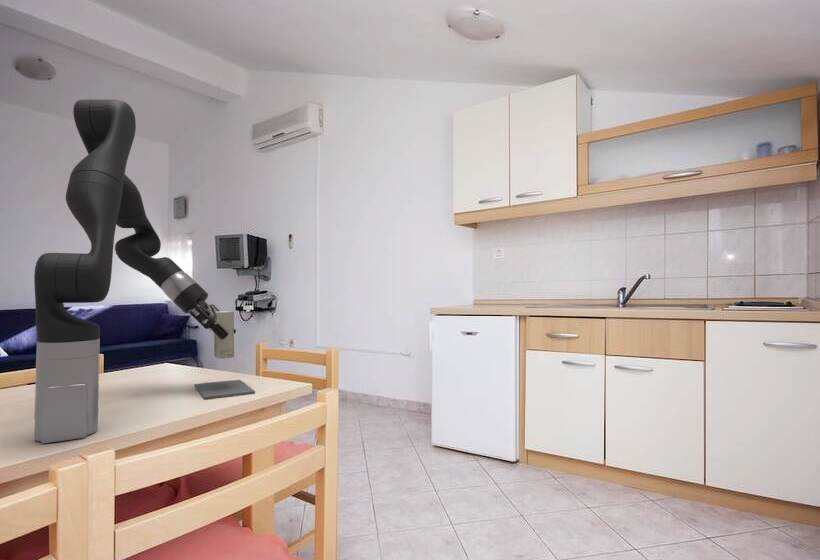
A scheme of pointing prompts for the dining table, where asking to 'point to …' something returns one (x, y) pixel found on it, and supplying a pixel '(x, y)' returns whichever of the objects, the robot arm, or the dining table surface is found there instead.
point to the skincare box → (226, 346)
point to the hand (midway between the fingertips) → (229, 335)
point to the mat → (223, 389)
